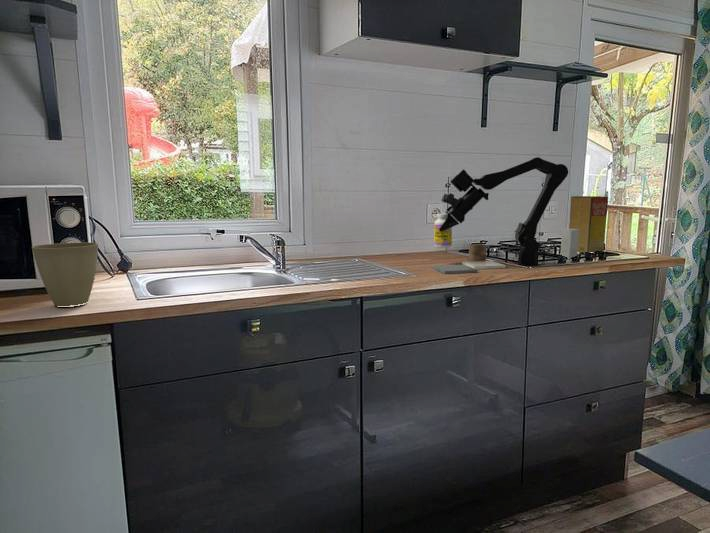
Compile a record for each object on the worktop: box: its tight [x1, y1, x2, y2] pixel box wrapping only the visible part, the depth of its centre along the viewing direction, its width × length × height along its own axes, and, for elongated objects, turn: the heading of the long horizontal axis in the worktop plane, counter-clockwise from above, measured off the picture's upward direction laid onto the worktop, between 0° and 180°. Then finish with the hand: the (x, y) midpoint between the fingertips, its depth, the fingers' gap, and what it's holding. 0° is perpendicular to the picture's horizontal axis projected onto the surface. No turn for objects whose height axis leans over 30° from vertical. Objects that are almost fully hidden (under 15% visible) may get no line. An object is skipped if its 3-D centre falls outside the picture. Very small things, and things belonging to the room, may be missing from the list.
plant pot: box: [31, 242, 99, 306], centre depth 128 cm, size 15×15×16 cm
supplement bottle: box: [433, 213, 453, 249], centre depth 189 cm, size 7×7×13 cm
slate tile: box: [432, 264, 478, 275], centre depth 176 cm, size 12×12×1 cm
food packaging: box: [568, 195, 609, 253], centre depth 218 cm, size 13×9×25 cm
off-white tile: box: [461, 260, 506, 270], centre depth 185 cm, size 12×12×1 cm
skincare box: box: [559, 228, 579, 260], centre depth 201 cm, size 6×4×12 cm
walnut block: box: [468, 243, 487, 261], centre depth 195 cm, size 5×5×7 cm
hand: (439, 230), depth 189 cm, fingers closed on supplement bottle, 7 cm apart
